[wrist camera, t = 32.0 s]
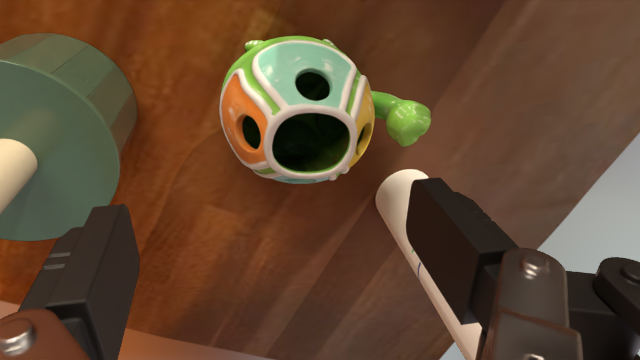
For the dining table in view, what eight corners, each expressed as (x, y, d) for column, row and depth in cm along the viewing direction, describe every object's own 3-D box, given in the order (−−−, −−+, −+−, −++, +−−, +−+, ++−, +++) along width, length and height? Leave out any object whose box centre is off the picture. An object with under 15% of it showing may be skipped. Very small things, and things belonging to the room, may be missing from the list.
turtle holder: (387, 152, 47) (433, 210, 37) (220, 151, 43) (220, 216, 33) (409, 37, 41) (471, 68, 31) (218, 24, 37) (218, 54, 27)
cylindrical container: (373, 223, 51) (482, 422, 30) (377, 172, 48) (503, 355, 27) (428, 217, 53) (569, 403, 31) (435, 166, 49) (600, 337, 28)
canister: (-44, 34, 34) (-142, 67, 25) (122, 31, 36) (88, 60, 27) (9, 171, 40) (-54, 239, 31) (148, 161, 42) (128, 221, 33)
